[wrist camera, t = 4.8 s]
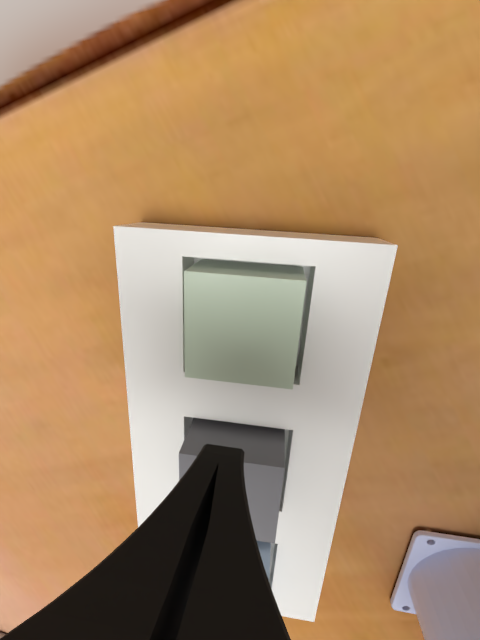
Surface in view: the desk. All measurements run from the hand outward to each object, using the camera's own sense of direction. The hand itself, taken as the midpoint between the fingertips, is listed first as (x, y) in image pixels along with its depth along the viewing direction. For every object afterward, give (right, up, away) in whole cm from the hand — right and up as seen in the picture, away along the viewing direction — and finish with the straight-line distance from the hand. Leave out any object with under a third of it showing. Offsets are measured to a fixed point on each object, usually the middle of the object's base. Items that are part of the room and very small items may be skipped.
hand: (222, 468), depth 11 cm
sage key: (+1, +6, +6) cm, 8 cm away
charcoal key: (0, -3, +7) cm, 8 cm away
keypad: (+1, -2, +10) cm, 10 cm away
